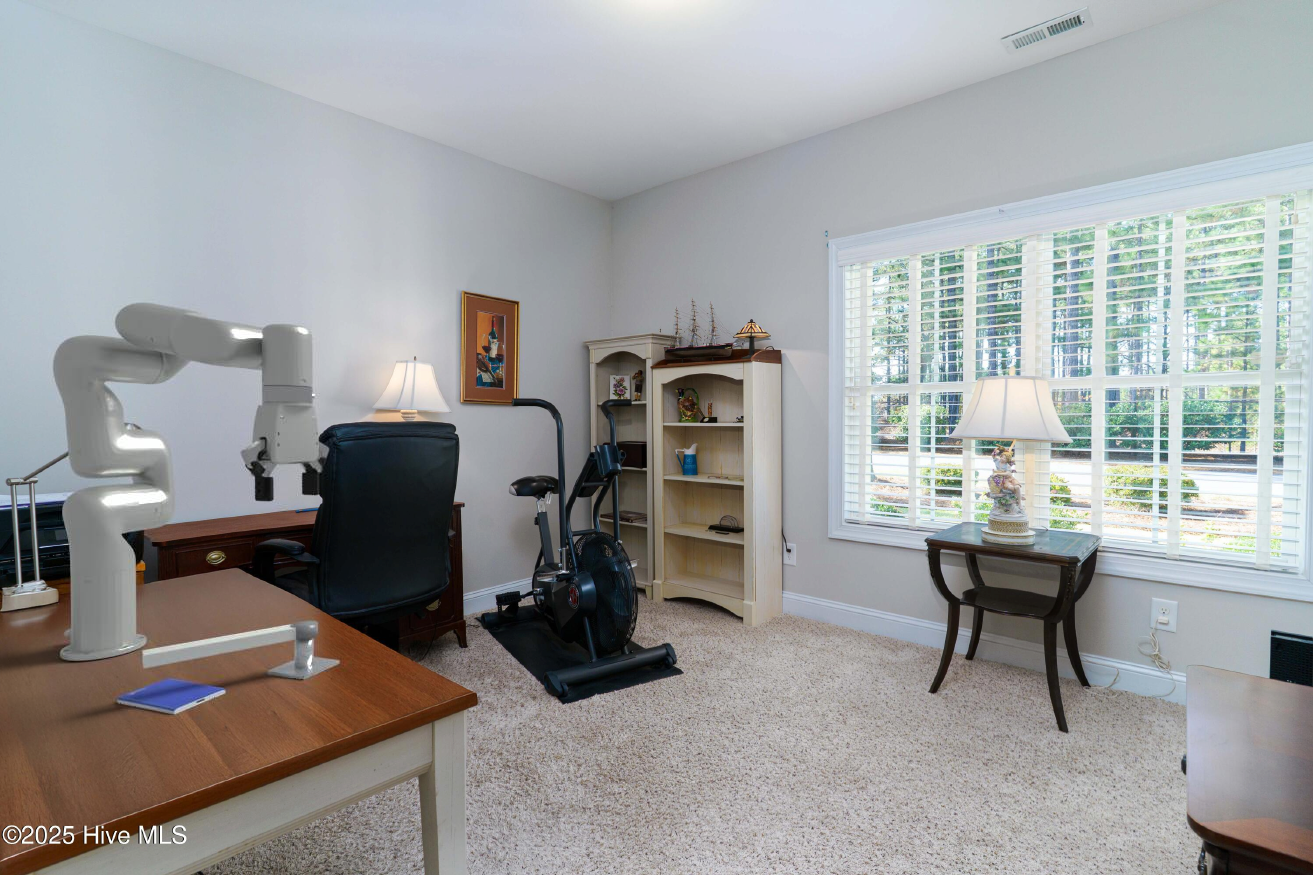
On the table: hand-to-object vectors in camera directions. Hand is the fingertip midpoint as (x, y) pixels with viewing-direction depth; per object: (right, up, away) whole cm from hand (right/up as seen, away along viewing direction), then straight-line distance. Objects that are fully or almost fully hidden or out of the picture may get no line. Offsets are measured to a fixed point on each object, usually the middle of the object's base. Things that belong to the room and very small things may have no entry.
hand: (288, 497), depth 111 cm
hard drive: (-14, -32, -8) cm, 36 cm away
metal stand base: (0, -31, +5) cm, 31 cm away
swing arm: (-7, -25, -2) cm, 26 cm away
